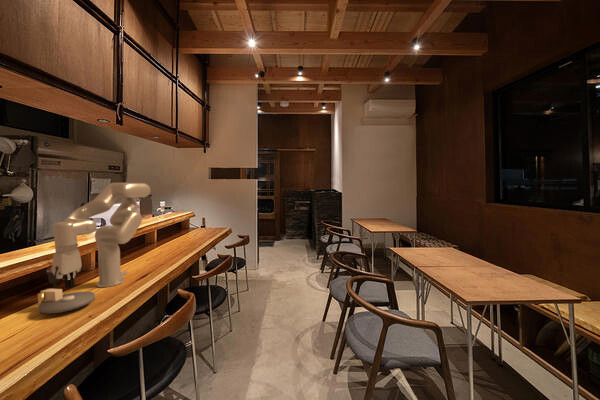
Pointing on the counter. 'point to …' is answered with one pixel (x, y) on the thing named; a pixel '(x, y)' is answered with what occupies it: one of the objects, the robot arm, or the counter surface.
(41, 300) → the brown rounded oblong piece
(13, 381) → the counter surface
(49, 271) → the sundae
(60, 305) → the disc
